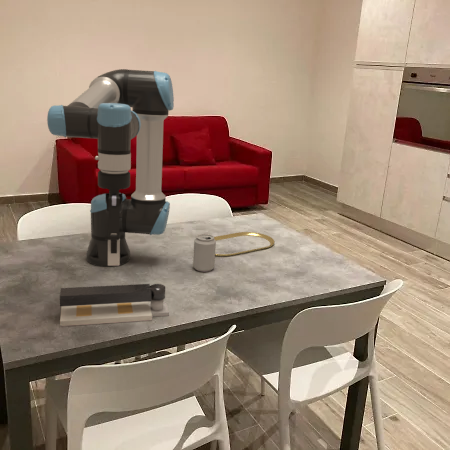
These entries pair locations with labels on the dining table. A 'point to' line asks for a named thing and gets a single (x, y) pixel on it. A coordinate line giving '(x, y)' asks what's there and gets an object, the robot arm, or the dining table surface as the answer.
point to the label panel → (112, 313)
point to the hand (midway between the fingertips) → (113, 255)
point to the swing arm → (111, 294)
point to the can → (204, 252)
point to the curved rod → (244, 235)
